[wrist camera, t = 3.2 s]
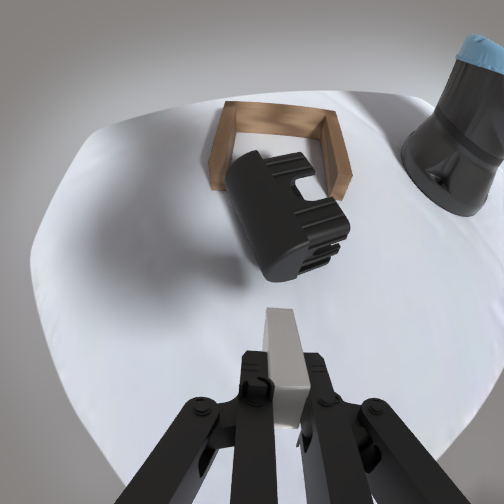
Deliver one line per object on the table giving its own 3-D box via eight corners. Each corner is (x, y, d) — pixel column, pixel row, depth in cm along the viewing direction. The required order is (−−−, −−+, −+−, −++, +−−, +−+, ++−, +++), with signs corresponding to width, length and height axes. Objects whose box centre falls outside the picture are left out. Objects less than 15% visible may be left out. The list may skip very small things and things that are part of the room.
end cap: (225, 205, 28) (221, 156, 22) (288, 188, 29) (297, 140, 23) (261, 293, 24) (268, 257, 18) (333, 267, 25) (358, 227, 19)
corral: (329, 134, 34) (335, 111, 31) (341, 200, 29) (352, 175, 25) (226, 125, 35) (225, 101, 31) (211, 190, 29) (208, 162, 25)
